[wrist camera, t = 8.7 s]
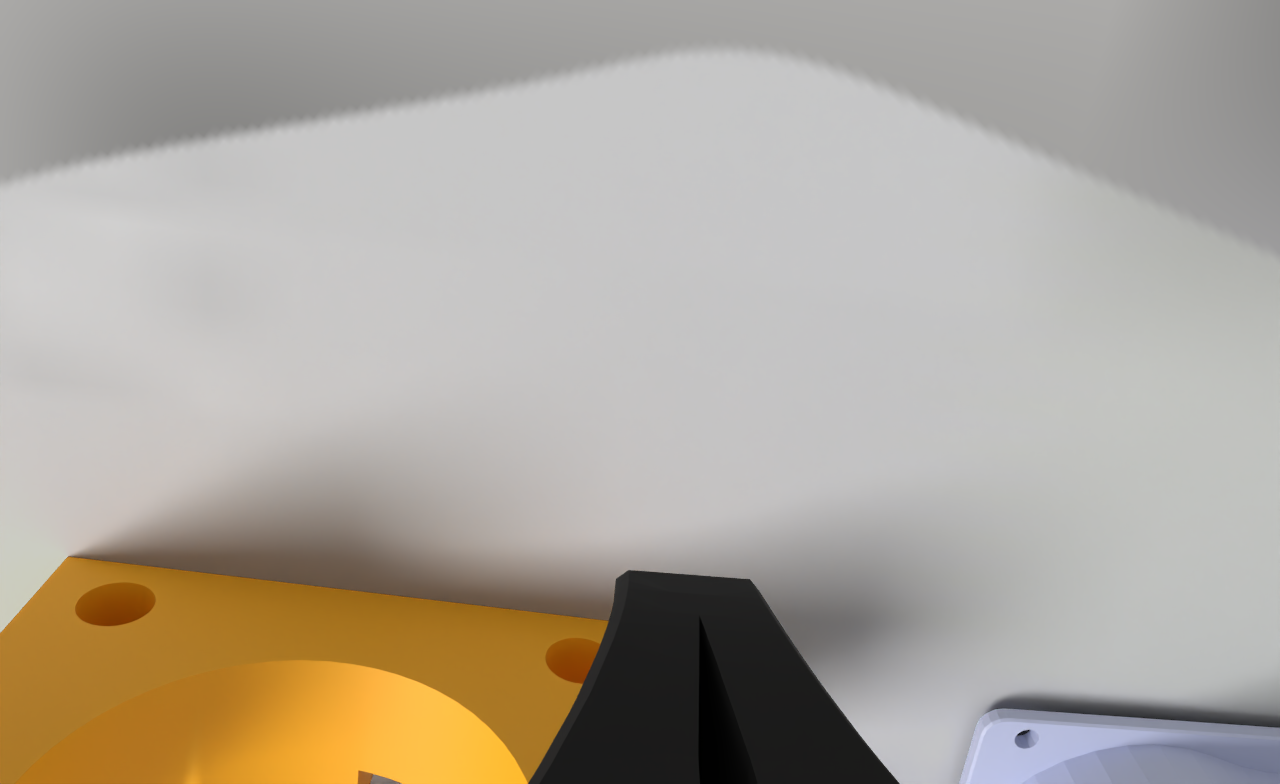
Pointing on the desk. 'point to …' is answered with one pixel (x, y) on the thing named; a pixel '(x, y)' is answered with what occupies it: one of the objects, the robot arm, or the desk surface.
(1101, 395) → the desk surface
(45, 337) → the desk surface
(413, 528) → the desk surface
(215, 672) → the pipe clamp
